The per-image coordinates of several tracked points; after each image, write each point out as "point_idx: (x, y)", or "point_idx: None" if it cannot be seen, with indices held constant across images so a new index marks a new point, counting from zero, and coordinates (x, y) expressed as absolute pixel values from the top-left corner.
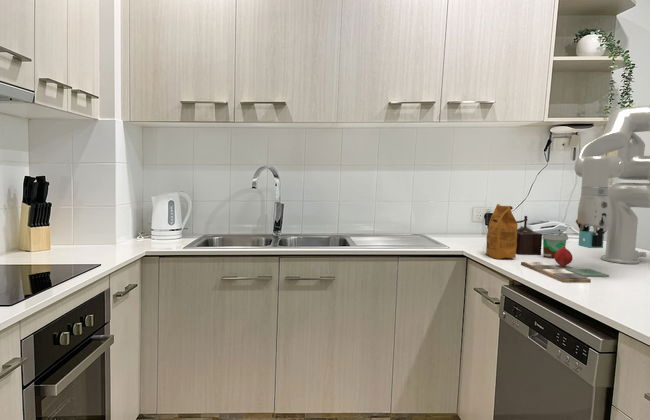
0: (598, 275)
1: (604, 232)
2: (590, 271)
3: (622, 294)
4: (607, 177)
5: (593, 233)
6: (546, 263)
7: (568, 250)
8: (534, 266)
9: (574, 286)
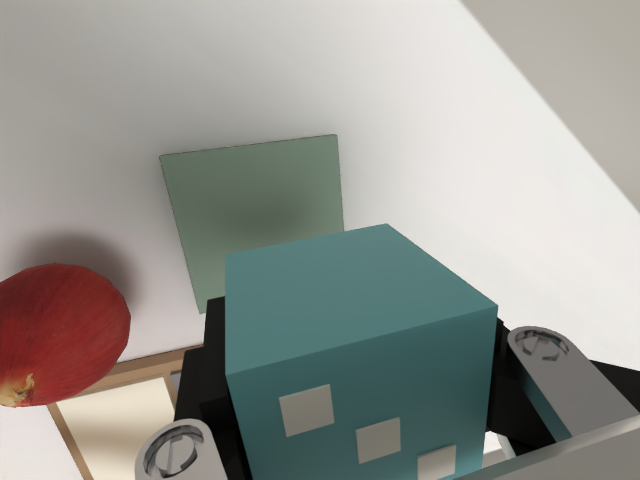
0: (341, 201)
1: (620, 372)
2: (250, 198)
3: (587, 256)
4: None
5: (483, 443)
6: (116, 397)
7: (36, 339)
8: None
9: None
